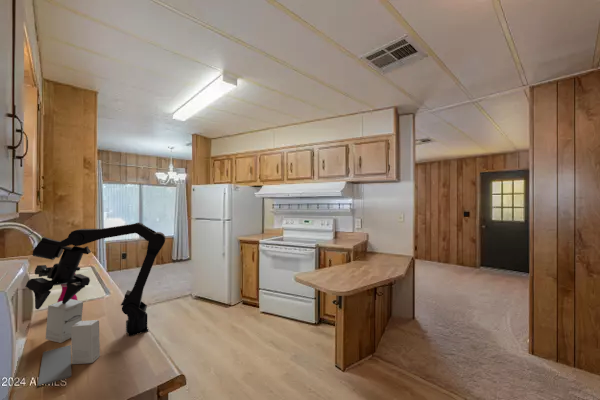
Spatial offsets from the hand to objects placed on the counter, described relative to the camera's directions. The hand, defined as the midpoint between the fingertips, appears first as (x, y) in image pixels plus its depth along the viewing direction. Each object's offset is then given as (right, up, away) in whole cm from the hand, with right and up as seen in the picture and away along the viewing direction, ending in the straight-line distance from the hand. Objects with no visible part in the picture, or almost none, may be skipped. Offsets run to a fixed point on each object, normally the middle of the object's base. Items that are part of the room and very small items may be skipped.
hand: (50, 306), depth 96 cm
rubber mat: (+12, -14, -11) cm, 21 cm away
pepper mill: (-20, -15, +30) cm, 39 cm away
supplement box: (0, -14, +5) cm, 15 cm away
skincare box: (+20, -14, -10) cm, 26 cm away
